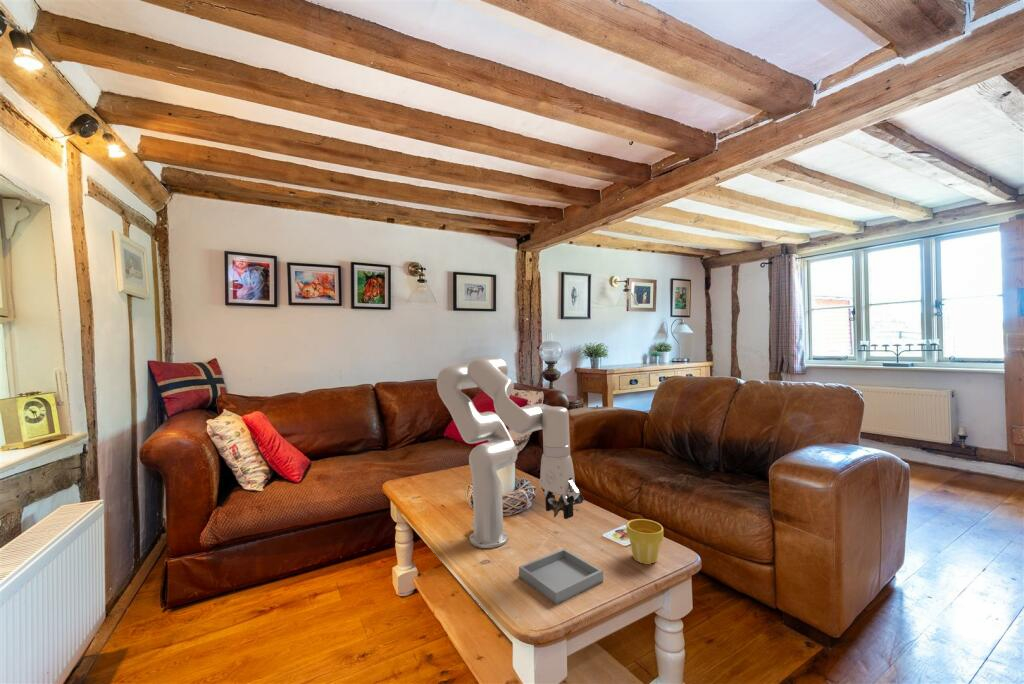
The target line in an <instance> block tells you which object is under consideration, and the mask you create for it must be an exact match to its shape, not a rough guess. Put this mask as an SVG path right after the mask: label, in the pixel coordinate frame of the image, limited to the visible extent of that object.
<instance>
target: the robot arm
mask: <svg viewBox="0 0 1024 684" xmlns="http://www.w3.org/2000/svg"><path fill="white" fill-rule="evenodd" d="M508 372H509V367H508V365H507V363H506V361H505V360H503V359H502V358H500V357H498V356H494V357H493V356H491V357H480V358H475V359H473V360H471V362H470V363H468V364H466V363H465V364H458V365H456V364H455V365H450V366H446V367H444V368H443V369H441V370H440V372H439V373H438V375H437V377H436V389H437V394H438V395H439V398H440V399H441V401H442V403H443V404H444V406H445V407H446V408H447V410H448V412H449V414H450V415H451V418H452V419H453V423H454V424H455V426H456V428H457V430H458V433H459V434H460V436H461V438H462V440H463V441H464V442H465V443H467V444H472V445H473V444H477V443H481V442H483V443H481V444H478V445H476V446H475V447H474V448H472V449H471V451H470V452H469V456H468V463H469V467H470V472H471V479H472V481H471V482H472V499H473V521H472V522H471V523H470V525H471V527H473V532H472V533H471V534H470V535H469V543H470V544H471V545H472V546H474V547H477V548H480V549H494V548H498V547H501V546H503V545H504V544H506V543H507V541H508V540H509V534H508V532H507V531H506V530H504V515H503V485H502V482H501V480H500V477H499V476H498V473H497V472H498V471H499V470H502V469H505V468H508V467H510V466H512V465H513V464H514V463H516V461H517V458H518V449H517V446H516V444H515V442H514V440H513V437H512V435H511V434H510V431H509V430H508V428H509V429H510V430H511V431H513V432H514V433H516V434H519V435H525V434H529V433H533V432H536V431H539V430H542V443H543V444H542V445H543V446H542V448H543V453H542V455H541V459H540V475H539V476H540V478H539V479H538V483H539V485H540V487H541V490H542V492H543V497H544V498H545V499H544V500H545V511H546V512H550V511H552V510H551V509H554V508H553V506H552V505H551V504H550V503H549V502H548V499H550V498H554V499H555V500H556V497H555V496H556V495H558V496H561V495H562V496H563V499H564V502H565V504H563V511H562V512H563V519H564V520H568V519H570V518H573V517H574V510H573V507H574V505H573V503H574V502H575V500H576V499H577V497H578V496H579V495H580V494H581V492H580V490H579V489H578V487H577V485H576V482H575V481H576V480H575V477H576V476H575V471H574V470H575V469H574V464H573V458H572V456H571V442H570V440H571V438H570V417H569V416H570V415H569V409H567V408H566V407H564V406H552V405H548V404H545V403H535V404H531V405H525V406H522V407H520V406H519V405H518V404H517V403H515V402H514V401H513V400H512V399H510V398H511V397H510V396H511V395H512V393H513V391H514V388H515V384H514V382H513V380H512V379H511V378H510V377H509V376H508ZM472 388H473V389H474V388H479V389H480V390H482V391H483V393H485V394H486V395H487V396H488V397H490V398H491V399H492V401H493V407H494V410H495V412H493V411H484V412H480V411H478V410H477V408H476V406H475V405H474V402H473V400H472V399H471V398H470V397H469V396H468V395H467V394H465V393H464V392H463V391H462V390H466V389H472ZM507 427H508V428H507ZM485 441H487V442H485ZM555 494H556V495H555ZM567 494H568V495H569V498H567Z"/></svg>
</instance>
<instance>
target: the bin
mask: <svg viewBox="0 0 1024 684" xmlns="http://www.w3.org/2000/svg"><path fill="white" fill-rule="evenodd" d="M518 577H520V578H519V579H520V580H522V581H524V582H525V583H526V584H528V586H530V587H531V588H533V589H534V590H536V591H537V592H538V593H540V594H541V595H542V596H543V597H544V598H547V600H549V601H550V602H551V603H553V604H554V605H556V606H559V605H560V604H562V603H563V602H565V601H567V600H570V599H571V598H574V597H576V596H578V595H580V594H582V593H584V592H586V591H588V590H590V589H592V588H594V587H596V586H598V585H600V584H602V583H604V570H602V569H601V568H599V567H597V566H595V565H594V564H592V563H590V562H588V561H587V560H585V559H583V558H582V557H580V556H578V555H577V554H574V553H573V552H572V551H569V550H567V549H565V548H562V549H559V550H557V551H554V552H552V553H549V554H546V555H545V556H542V557H539V558H537V559H535V560H533V561H529V562H527V563H524V564H522V565H520V566H518Z"/></svg>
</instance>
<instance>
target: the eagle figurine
mask: <svg viewBox="0 0 1024 684" xmlns="http://www.w3.org/2000/svg"><path fill="white" fill-rule="evenodd" d="M567 498H569V495H568V494H567ZM584 500H585V497H584V495H583V494H582V493H580V495H579V496H578V497H577V499H576V500H575V502H574V503H573V511H576V512H580V510H579V509H577V508H575V507H574V506H575V505H579V504H583V502H584ZM548 502H549V503H550V504H551V505H552V506H553V508H554V509H551V510H550V511H552V512H553V518H557V516H558V514H559V512H560V511H561V512H563V504H565V502H564V499H563V496H562V495H560V496H559V498H558V500H556V498H555V499H554V498H550V499H548Z"/></svg>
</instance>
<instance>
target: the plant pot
mask: <svg viewBox="0 0 1024 684" xmlns="http://www.w3.org/2000/svg"><path fill="white" fill-rule="evenodd" d="M626 536H627V538H628V539H629V543H630V547H631V553H632V557H633V559H634V560H635V561H636V562H637V561H638V562H637V563H639V562H640V563H639V564H642V563H644V564H643V565H652V564H651V563H654V562H655V563H657V561H658V557H659V552H660V548H661V544H662V542H663V541H664V527H663V525H662V524H661V523H659V522H657V521H654V520H651V519H645V518H637V519H636V518H635V519H630V520H628V522H627V523H626ZM655 563H654V564H655Z"/></svg>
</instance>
